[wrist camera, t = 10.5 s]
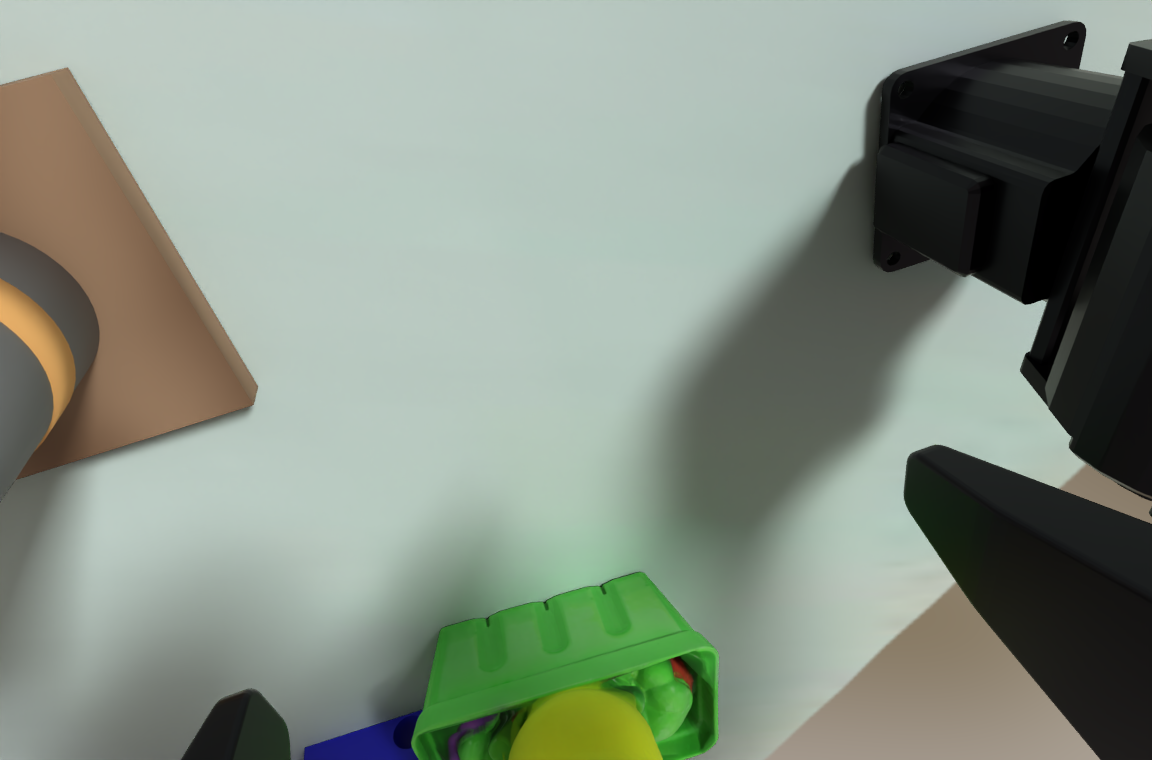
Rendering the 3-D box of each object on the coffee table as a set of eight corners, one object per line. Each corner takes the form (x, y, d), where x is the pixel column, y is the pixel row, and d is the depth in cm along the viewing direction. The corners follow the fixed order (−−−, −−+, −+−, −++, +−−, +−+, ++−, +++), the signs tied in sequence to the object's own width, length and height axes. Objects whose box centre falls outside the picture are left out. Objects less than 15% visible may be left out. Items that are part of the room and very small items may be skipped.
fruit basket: (442, 720, 31) (473, 1042, 22) (391, 597, 26) (403, 947, 17) (674, 648, 33) (793, 920, 24) (667, 520, 28) (814, 801, 19)
